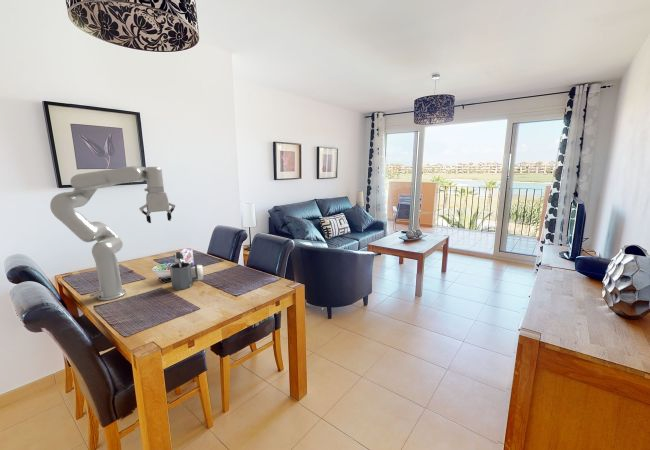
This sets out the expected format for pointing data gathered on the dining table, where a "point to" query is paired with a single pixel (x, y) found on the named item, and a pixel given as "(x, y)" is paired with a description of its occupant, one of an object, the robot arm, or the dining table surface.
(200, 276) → the mug
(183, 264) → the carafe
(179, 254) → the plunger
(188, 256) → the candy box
